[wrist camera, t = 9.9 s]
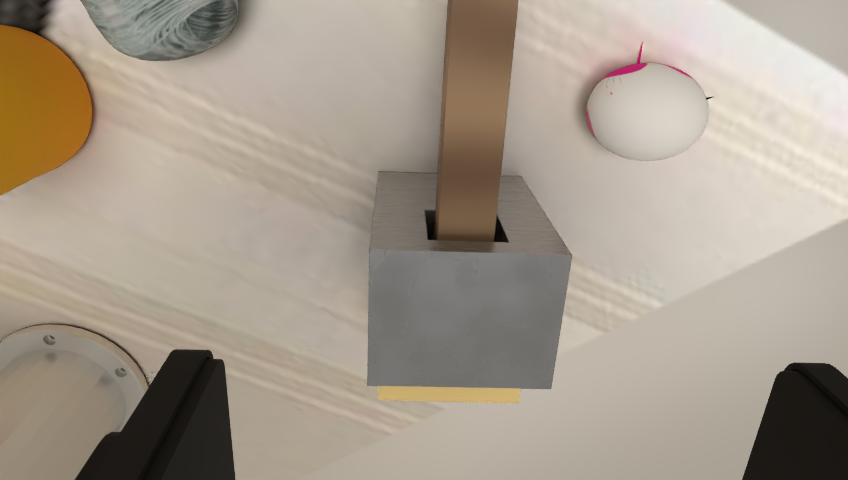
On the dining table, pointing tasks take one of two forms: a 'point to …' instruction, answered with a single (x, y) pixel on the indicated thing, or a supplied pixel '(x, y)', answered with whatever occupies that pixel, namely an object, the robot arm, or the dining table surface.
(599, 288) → the dining table surface
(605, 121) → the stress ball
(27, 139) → the beer bottle
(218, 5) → the spool
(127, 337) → the dining table surface
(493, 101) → the shaft
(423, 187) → the block
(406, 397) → the block
